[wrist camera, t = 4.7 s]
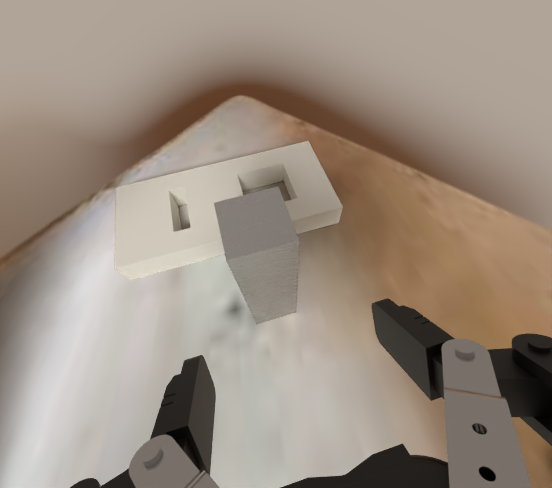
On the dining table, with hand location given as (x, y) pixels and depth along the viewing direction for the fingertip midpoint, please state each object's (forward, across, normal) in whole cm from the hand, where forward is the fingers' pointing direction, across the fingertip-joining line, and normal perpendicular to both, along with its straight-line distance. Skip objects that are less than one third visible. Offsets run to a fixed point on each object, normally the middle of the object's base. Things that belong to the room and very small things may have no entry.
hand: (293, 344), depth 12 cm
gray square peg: (+14, 0, +5) cm, 15 cm away
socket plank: (+23, +2, -4) cm, 23 cm away
